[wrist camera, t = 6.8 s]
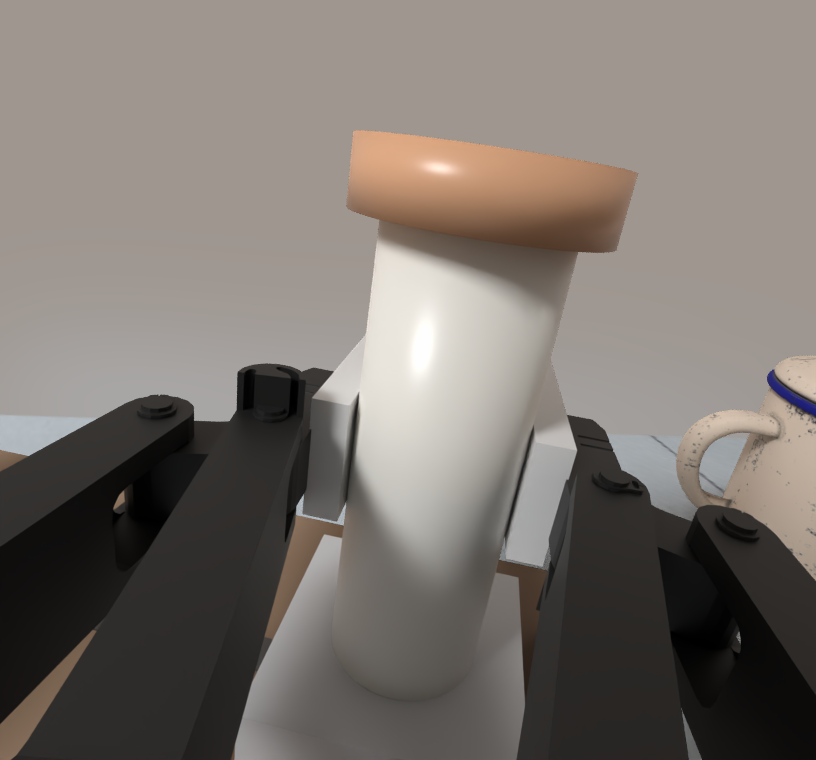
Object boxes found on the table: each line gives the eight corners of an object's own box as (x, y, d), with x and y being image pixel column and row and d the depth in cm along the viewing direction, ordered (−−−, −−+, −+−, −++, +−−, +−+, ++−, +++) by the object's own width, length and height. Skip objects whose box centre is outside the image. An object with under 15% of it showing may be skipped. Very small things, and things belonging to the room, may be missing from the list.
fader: (508, 615, 16) (629, 179, 12) (512, 838, 11) (748, 181, 6) (320, 572, 17) (364, 139, 12) (234, 764, 11) (253, 108, 7)
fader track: (547, 615, 20) (574, 528, 18) (609, 1165, 9) (691, 1059, 7) (-118, 463, 22) (-141, 376, 21) (-715, 741, 11) (-854, 598, 10)
